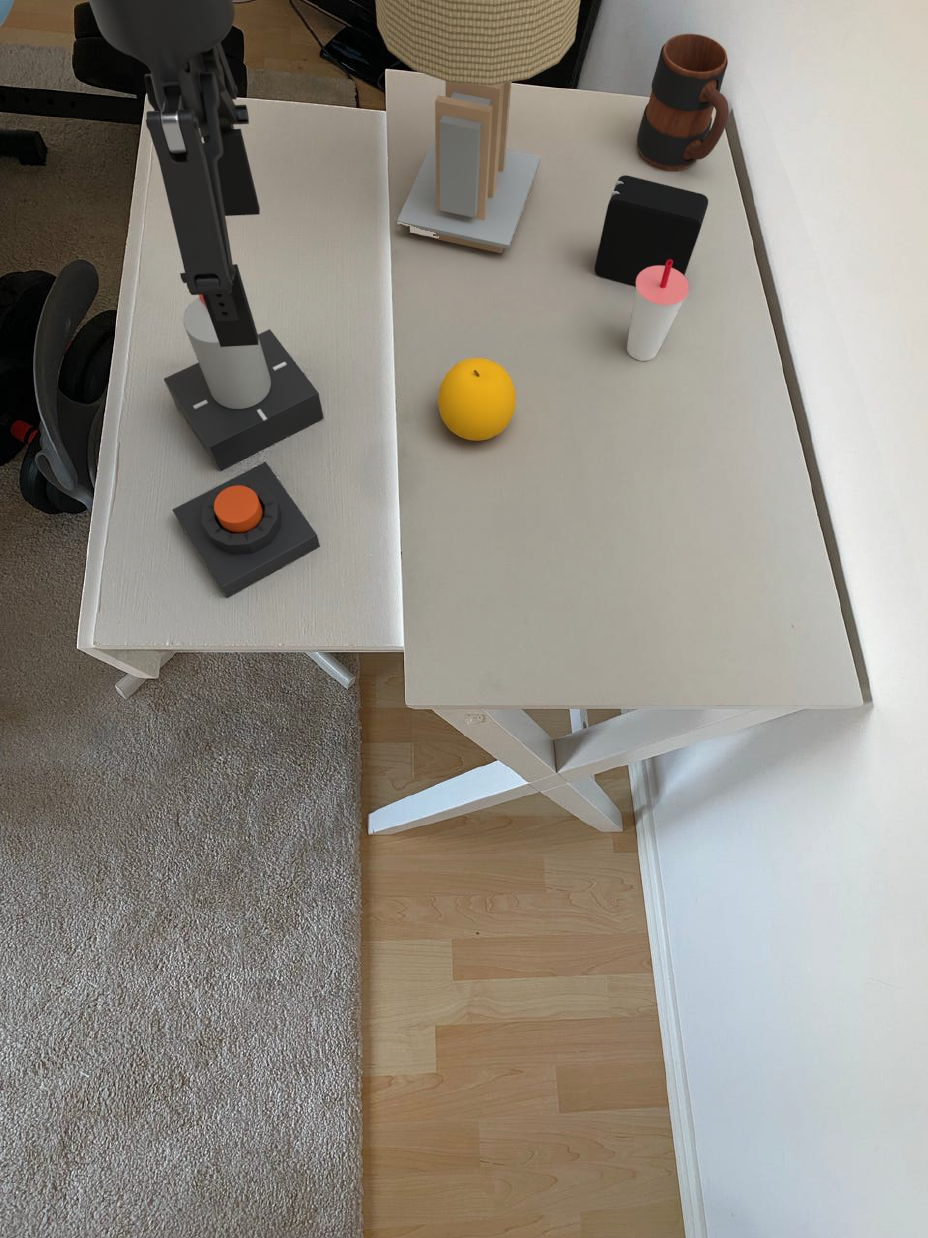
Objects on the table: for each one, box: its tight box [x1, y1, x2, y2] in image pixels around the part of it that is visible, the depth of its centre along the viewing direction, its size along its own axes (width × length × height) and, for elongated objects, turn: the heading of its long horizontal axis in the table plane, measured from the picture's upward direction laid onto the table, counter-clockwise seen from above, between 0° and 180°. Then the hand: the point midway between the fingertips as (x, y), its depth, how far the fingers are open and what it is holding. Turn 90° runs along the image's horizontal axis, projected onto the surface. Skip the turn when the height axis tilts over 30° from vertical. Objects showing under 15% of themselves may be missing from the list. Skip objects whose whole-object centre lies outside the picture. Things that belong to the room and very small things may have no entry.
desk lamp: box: [375, 0, 581, 254], centre depth 80 cm, size 20×20×35 cm
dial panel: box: [163, 328, 325, 472], centre depth 80 cm, size 12×10×4 cm
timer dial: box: [182, 295, 271, 409], centre depth 74 cm, size 6×6×9 cm
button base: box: [172, 461, 321, 599], centre depth 74 cm, size 10×10×4 cm
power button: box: [214, 486, 262, 533], centre depth 72 cm, size 4×4×2 cm
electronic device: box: [593, 174, 709, 287], centre depth 87 cm, size 4×10×10 cm, turn 71°
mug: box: [636, 33, 730, 171], centre depth 95 cm, size 9×12×12 cm
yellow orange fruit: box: [437, 357, 517, 442], centre depth 79 cm, size 8×8×8 cm
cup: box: [626, 259, 690, 362], centre depth 81 cm, size 5×5×12 cm
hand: (241, 274), depth 60 cm, fingers open, 13 cm apart
